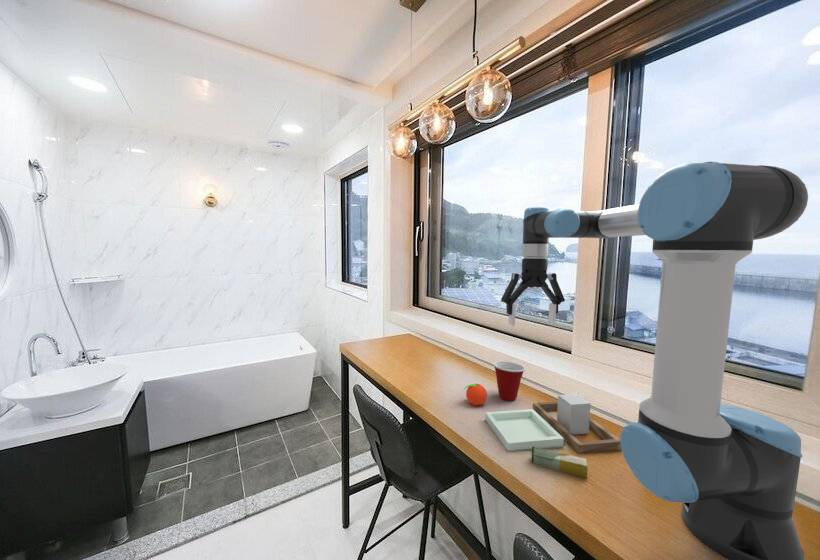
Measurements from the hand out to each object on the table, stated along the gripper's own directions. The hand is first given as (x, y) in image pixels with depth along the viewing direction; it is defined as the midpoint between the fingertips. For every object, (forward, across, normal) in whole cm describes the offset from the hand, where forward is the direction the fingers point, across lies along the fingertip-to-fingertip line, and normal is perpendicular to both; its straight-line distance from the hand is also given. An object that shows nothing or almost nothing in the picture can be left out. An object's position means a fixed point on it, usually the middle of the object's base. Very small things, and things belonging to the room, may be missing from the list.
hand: (531, 324), depth 100 cm
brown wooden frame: (+28, -8, +12) cm, 32 cm away
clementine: (+29, +16, -5) cm, 33 cm away
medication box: (+29, +7, +28) cm, 41 cm away
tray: (+28, +9, +13) cm, 33 cm away
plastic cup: (+29, +3, -9) cm, 30 cm away
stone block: (+28, -8, +12) cm, 32 cm away
